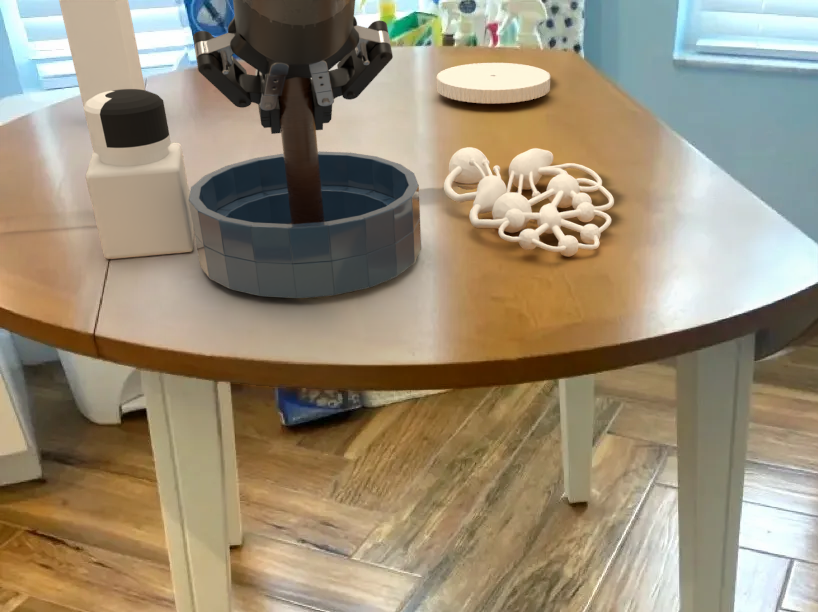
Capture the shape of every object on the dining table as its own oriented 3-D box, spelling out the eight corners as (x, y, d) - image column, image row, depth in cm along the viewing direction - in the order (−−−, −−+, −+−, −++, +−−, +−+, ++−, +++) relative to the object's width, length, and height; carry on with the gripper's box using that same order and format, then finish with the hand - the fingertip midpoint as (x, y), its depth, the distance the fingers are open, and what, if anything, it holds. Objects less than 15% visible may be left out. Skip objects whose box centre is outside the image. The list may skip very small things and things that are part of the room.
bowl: (195, 314, 70) (180, 235, 67) (208, 226, 84) (196, 158, 81) (434, 295, 72) (431, 218, 69) (407, 213, 86) (404, 146, 83)
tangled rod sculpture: (647, 268, 79) (657, 219, 76) (476, 269, 76) (481, 219, 73) (578, 184, 94) (585, 141, 92) (434, 183, 91) (436, 139, 89)
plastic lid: (415, 103, 117) (415, 81, 116) (471, 78, 127) (471, 58, 126) (518, 118, 112) (518, 95, 110) (567, 90, 121) (569, 69, 120)
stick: (282, 253, 75) (261, 79, 68) (282, 233, 78) (261, 65, 71) (338, 250, 75) (323, 76, 68) (335, 229, 79) (321, 62, 72)
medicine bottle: (194, 222, 85) (170, 80, 78) (193, 253, 79) (167, 103, 73) (111, 229, 84) (78, 86, 77) (104, 261, 78) (68, 109, 71)
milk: (140, 125, 111) (97, -94, 98) (86, 127, 110) (36, -93, 98) (149, 111, 116) (110, -100, 103) (98, 112, 115) (52, -99, 103)
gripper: (399, -94, 59) (376, 71, 76) (165, -87, 56) (195, 83, 73) (420, 15, 58) (392, 158, 74) (182, 28, 55) (208, 174, 72)
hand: (294, 120), depth 74 cm, fingers closed on stick, 2 cm apart
